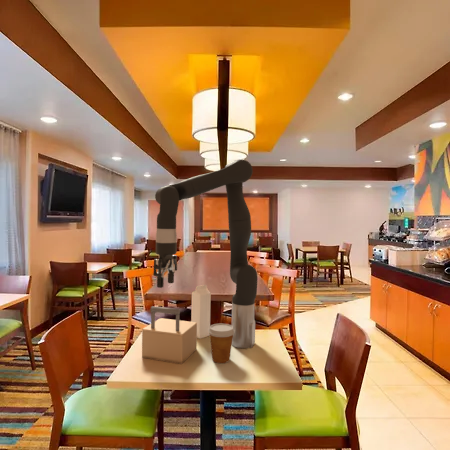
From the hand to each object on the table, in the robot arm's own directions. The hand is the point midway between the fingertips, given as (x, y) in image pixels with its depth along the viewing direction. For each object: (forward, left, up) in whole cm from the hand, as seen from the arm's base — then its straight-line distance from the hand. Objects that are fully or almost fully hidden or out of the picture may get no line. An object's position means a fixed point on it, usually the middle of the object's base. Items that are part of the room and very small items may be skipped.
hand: (165, 285), depth 125 cm
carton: (0, -4, -27) cm, 27 cm away
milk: (-4, -26, -27) cm, 38 cm away
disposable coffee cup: (-20, -5, -27) cm, 34 cm away
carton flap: (0, -4, -17) cm, 17 cm away
